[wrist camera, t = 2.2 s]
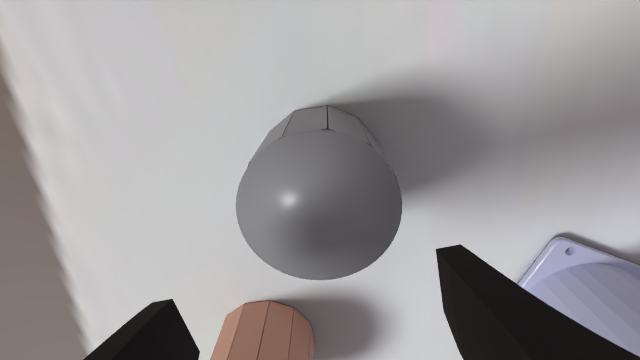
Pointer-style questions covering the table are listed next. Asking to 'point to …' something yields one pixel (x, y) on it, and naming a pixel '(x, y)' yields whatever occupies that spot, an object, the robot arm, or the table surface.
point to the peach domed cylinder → (265, 334)
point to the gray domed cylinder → (319, 196)
